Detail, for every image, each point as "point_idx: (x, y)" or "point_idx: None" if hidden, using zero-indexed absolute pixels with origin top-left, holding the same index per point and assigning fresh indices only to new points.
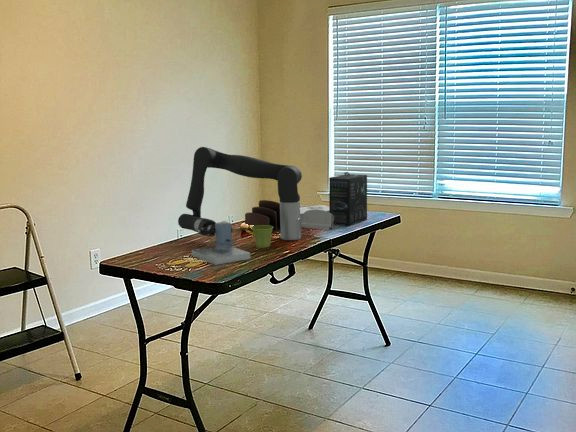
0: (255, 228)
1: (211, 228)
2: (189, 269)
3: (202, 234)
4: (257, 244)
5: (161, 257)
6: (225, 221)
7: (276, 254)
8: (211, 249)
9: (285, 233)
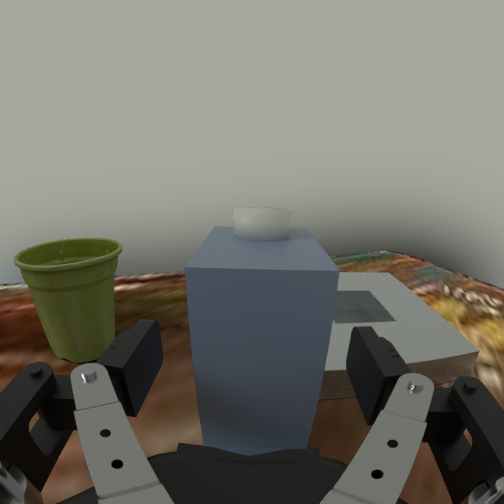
0: (48, 278)
1: (342, 463)
2: (448, 290)
3: (462, 438)
4: (113, 332)
5: None
6: (263, 207)
7: (169, 286)
8: (388, 330)
9: None
